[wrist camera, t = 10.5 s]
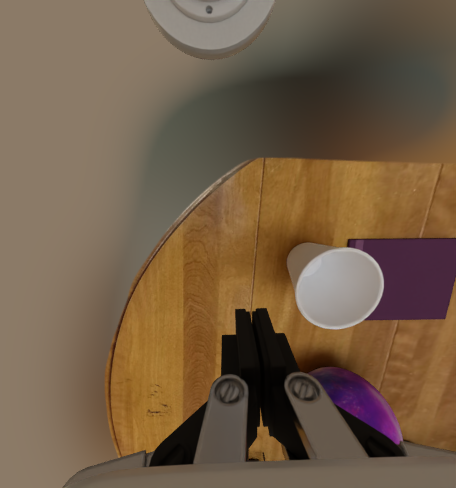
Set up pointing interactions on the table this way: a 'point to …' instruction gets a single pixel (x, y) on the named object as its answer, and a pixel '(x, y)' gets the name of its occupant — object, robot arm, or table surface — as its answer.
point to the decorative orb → (359, 399)
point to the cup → (334, 284)
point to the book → (412, 276)
